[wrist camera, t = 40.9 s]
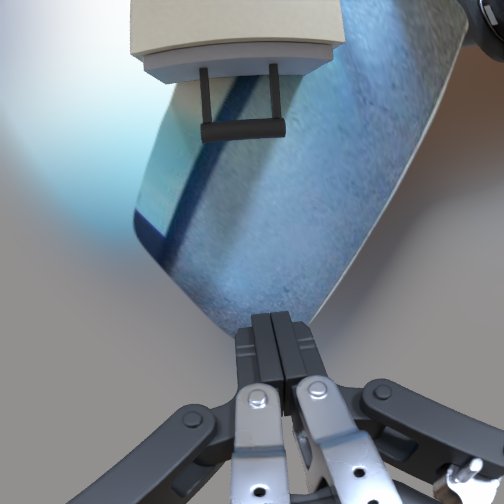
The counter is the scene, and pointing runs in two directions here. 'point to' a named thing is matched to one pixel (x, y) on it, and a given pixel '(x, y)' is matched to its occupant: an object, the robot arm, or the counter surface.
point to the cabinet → (231, 23)
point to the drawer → (238, 64)
